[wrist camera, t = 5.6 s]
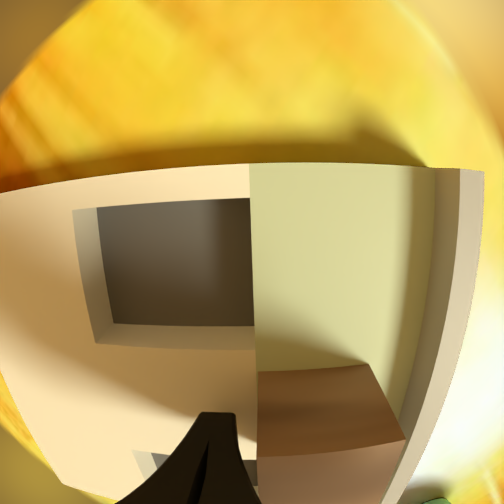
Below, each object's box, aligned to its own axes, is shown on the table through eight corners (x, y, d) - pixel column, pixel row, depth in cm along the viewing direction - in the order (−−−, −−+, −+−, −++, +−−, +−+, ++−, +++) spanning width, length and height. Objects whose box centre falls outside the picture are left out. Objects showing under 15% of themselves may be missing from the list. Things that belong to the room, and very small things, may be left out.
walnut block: (354, 437, 12) (375, 509, 8) (261, 444, 12) (260, 521, 8) (368, 363, 11) (406, 439, 7) (258, 371, 11) (256, 456, 7)
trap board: (373, 480, 15) (385, 521, 12) (73, 465, 16) (54, 498, 12) (431, 169, 11) (484, 171, 7) (-13, 197, 11) (-63, 207, 8)
